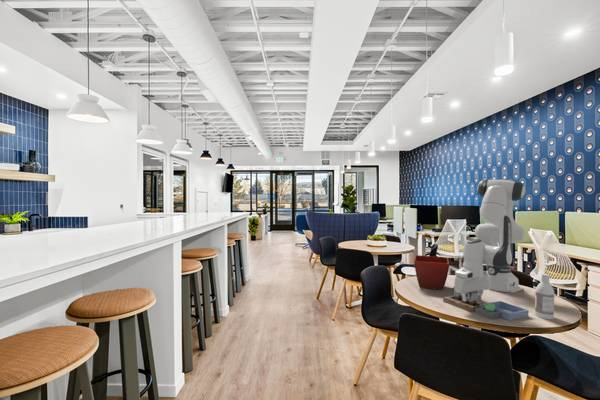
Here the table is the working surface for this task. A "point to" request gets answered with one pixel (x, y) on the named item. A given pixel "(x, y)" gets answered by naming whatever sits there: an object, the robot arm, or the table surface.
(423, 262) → the plant pot
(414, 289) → the table surface
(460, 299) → the billet
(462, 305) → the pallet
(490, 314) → the grey square frame
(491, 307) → the button
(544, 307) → the bath foam
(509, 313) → the tote
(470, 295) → the billet
